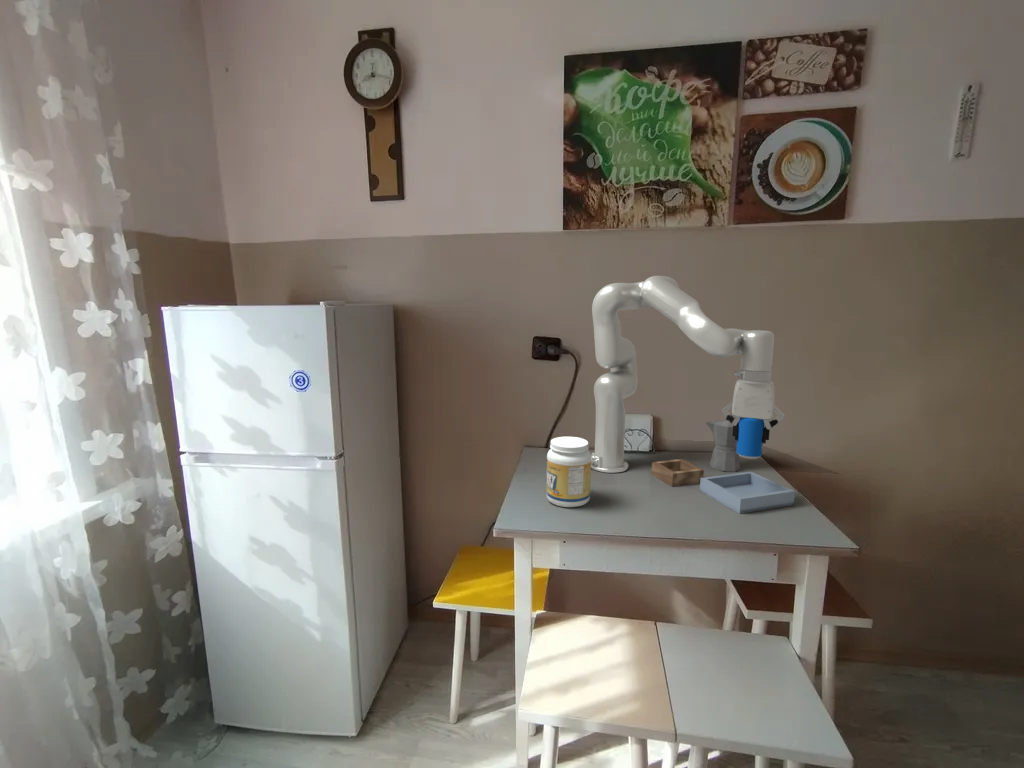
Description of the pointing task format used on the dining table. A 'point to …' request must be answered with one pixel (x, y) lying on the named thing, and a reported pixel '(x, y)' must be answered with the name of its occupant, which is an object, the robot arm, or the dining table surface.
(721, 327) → the robot arm
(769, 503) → the tray
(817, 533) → the dining table surface
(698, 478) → the brown wooden box
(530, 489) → the dining table surface
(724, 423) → the coffeepot
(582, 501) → the supplement tub
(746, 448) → the beverage can
